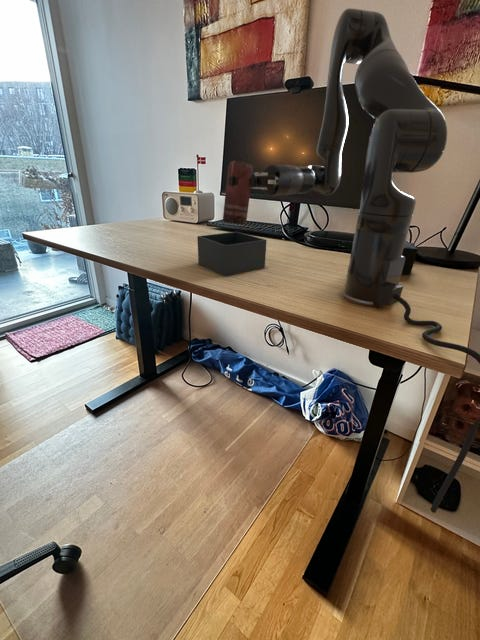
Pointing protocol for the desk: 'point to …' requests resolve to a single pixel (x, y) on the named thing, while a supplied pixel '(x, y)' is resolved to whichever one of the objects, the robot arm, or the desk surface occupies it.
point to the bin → (231, 252)
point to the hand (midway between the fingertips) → (230, 181)
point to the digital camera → (409, 257)
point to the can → (237, 193)
